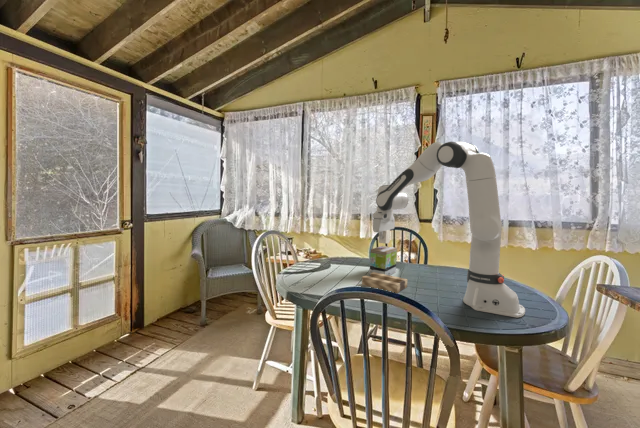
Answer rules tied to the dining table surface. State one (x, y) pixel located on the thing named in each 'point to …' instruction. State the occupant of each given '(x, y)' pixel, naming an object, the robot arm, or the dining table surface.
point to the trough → (385, 282)
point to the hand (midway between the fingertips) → (384, 238)
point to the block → (385, 237)
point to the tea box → (383, 260)
